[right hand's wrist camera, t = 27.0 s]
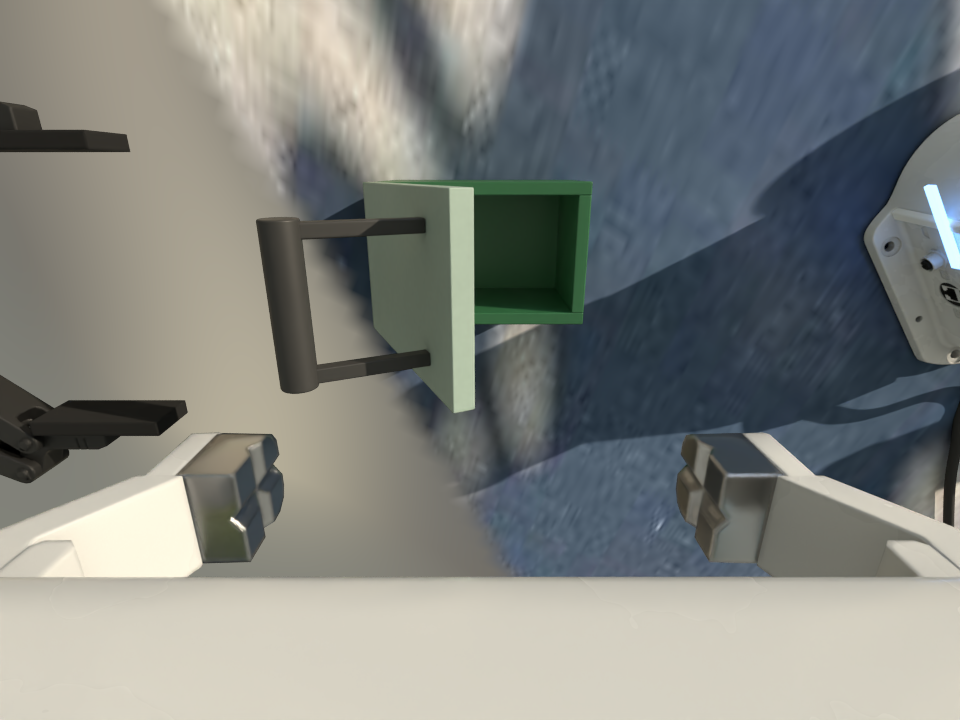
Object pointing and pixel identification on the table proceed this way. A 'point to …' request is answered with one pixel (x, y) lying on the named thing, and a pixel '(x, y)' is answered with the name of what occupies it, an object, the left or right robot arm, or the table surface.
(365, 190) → the lid
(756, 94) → the table surface
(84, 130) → the left robot arm
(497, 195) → the chest
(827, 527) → the right robot arm
